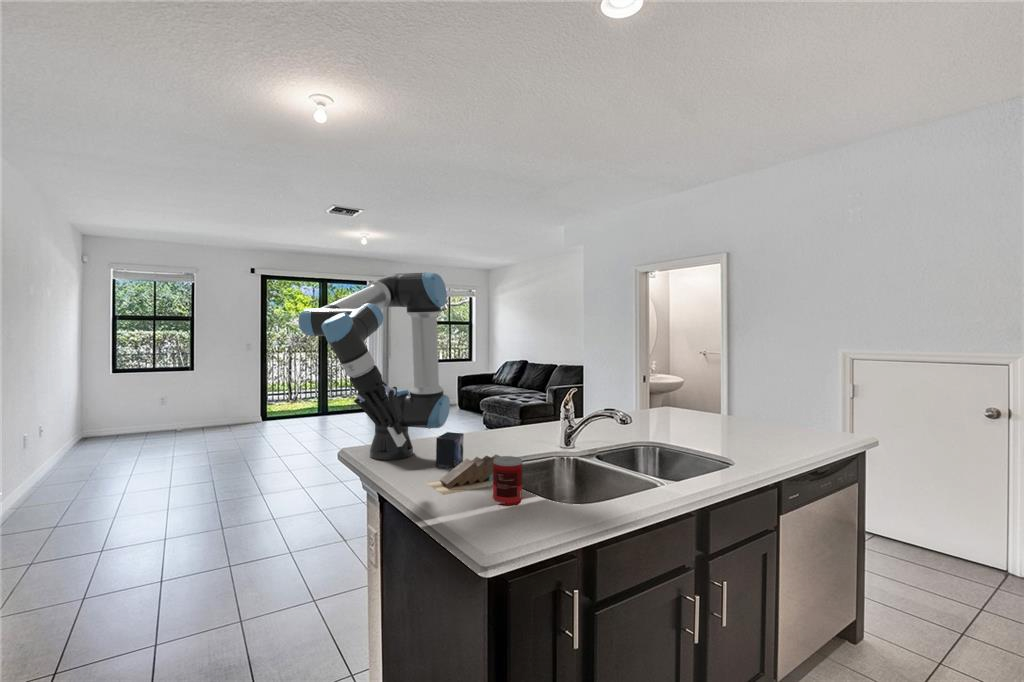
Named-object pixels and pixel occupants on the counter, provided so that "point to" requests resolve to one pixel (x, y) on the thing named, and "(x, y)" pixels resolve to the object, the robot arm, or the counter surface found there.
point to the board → (456, 488)
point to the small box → (449, 450)
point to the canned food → (507, 480)
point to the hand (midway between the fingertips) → (401, 443)
